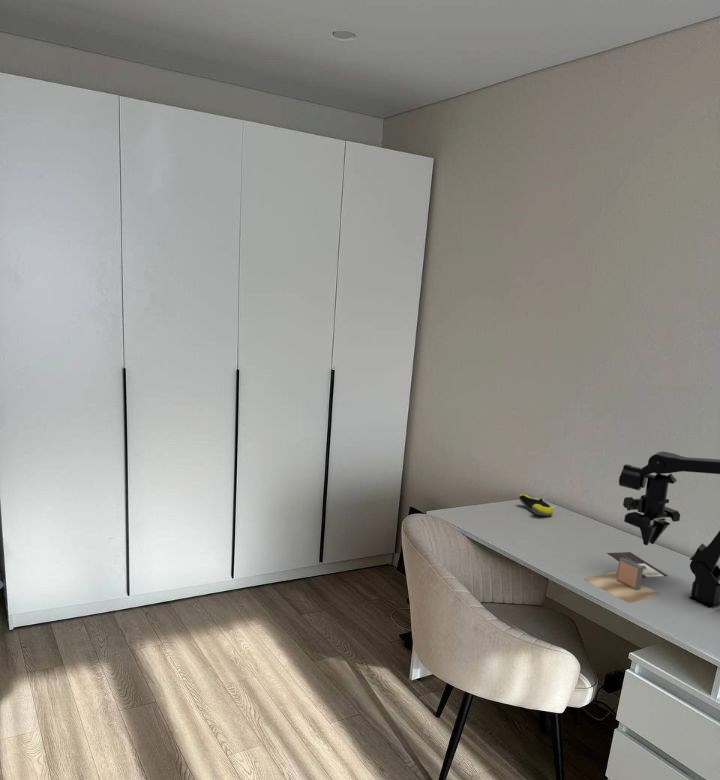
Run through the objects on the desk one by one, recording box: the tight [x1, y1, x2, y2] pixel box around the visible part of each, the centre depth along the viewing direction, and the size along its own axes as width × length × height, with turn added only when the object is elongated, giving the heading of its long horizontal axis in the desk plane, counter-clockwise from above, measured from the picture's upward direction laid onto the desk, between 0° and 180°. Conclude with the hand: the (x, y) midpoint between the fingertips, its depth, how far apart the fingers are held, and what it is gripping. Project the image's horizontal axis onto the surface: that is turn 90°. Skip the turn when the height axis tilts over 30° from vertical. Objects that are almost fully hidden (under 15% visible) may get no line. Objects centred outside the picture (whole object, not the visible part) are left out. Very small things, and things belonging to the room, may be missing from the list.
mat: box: [583, 571, 661, 604], centre depth 191 cm, size 16×14×1 cm
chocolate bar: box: [606, 551, 668, 578], centre depth 209 cm, size 9×1×18 cm
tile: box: [616, 558, 643, 590], centre depth 192 cm, size 7×2×7 cm, turn 31°
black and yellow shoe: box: [518, 493, 555, 518], centre depth 253 cm, size 15×6×10 cm
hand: (648, 544), depth 194 cm, fingers open, 3 cm apart
